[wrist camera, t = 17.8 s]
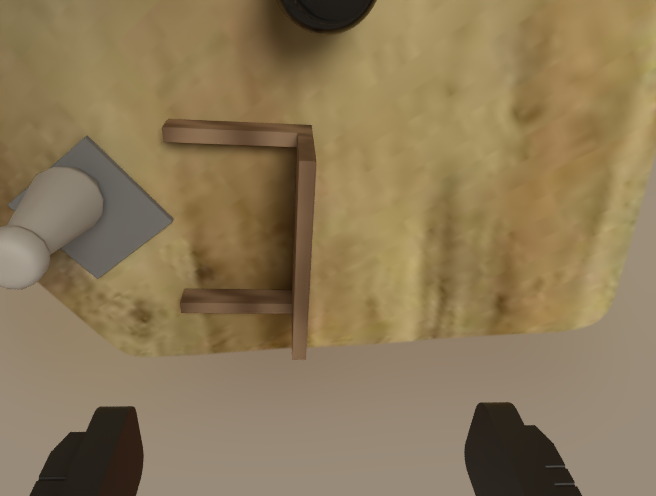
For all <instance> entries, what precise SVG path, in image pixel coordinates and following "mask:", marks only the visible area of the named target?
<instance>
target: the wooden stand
mask: <svg viewBox="0 0 656 496" xmlns="http://www.w3.org/2000/svg"><path fill="white" fill-rule="evenodd" d="M162 132H163V142H178V143H204V144H229V145H255V146H281V147H297V154H296V185H295V215H294V246H293V277H292V290H247V289H185V290H184V293H183V296H182V299H181V302H180V305H181V313H264V314H292V359H293V360H297V359H298V360H299V359H300V360H302V359H303V360H305V359H306V346H307V327H308V308H309V290H310V271H311V252H312V234H313V215H314V197H315V178H316V155H315V148H314V140H313V133H312V126H311V125H296V124H272V123H249V122H226V121H203V120H180V119H168V120H167V121H166V123H165V124H164V125H163V127H162Z"/></svg>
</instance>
